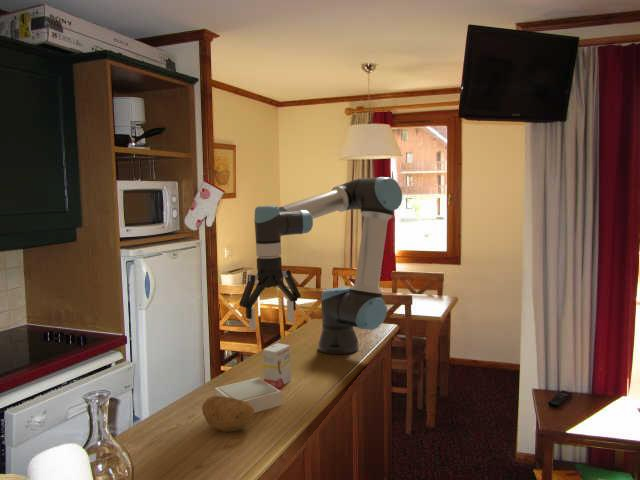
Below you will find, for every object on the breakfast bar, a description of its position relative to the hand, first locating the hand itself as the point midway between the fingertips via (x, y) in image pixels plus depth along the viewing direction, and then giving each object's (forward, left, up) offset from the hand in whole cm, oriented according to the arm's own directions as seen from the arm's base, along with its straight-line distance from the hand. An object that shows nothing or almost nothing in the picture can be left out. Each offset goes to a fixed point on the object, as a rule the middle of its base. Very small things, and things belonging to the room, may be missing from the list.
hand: (272, 325), depth 162 cm
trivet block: (+13, +9, -19) cm, 24 cm away
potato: (+24, +21, -19) cm, 37 cm away
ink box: (-1, +1, -19) cm, 19 cm away
